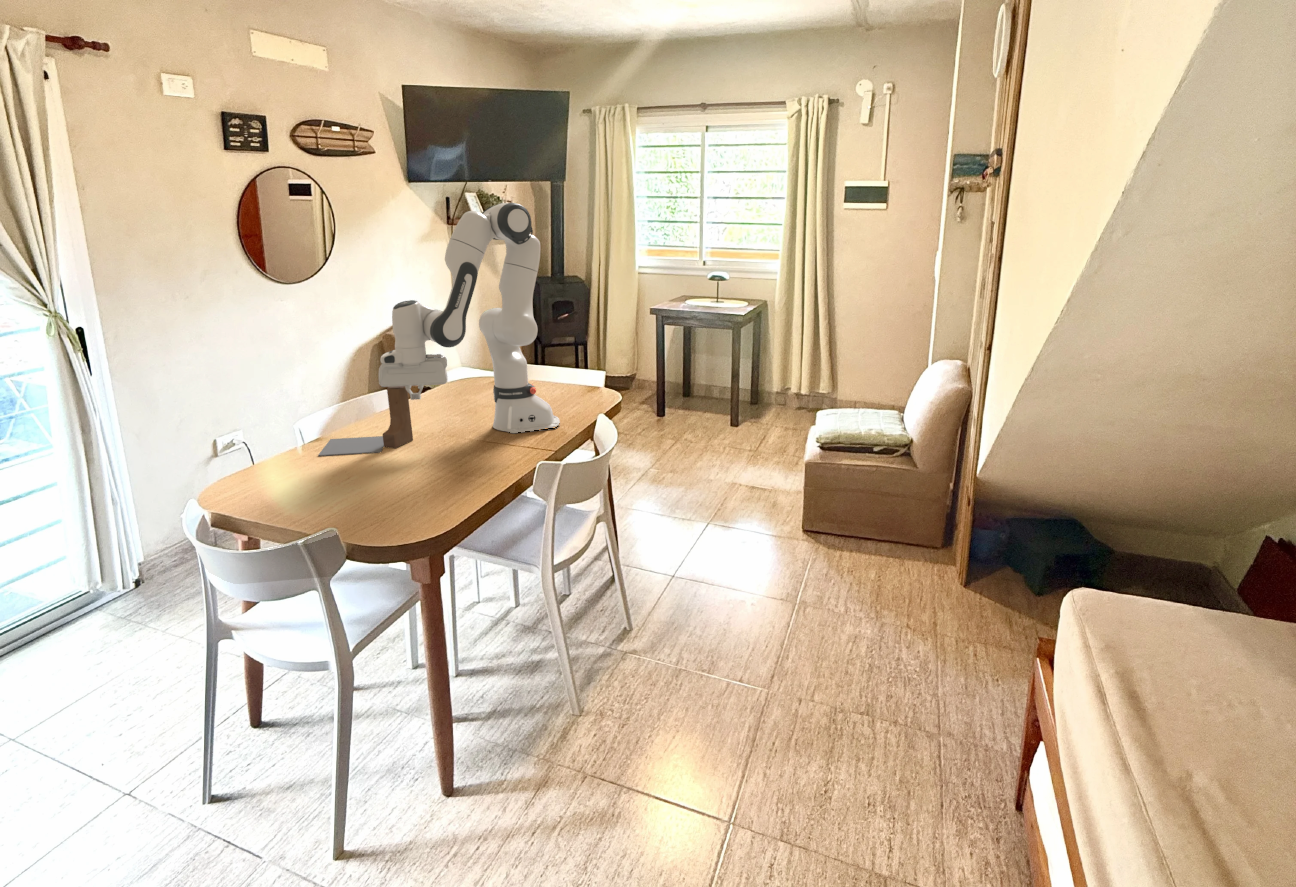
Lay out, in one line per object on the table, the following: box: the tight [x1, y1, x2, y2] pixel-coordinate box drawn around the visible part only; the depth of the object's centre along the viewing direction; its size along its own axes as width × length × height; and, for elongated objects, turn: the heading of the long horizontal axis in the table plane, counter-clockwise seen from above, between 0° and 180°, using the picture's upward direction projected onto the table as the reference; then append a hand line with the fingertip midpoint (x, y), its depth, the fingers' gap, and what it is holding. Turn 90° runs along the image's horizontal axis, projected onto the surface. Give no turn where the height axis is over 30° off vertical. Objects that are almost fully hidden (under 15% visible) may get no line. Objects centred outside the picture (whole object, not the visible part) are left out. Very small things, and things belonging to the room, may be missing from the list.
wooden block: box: [382, 386, 414, 449], centre depth 231 cm, size 9×4×18 cm, turn 160°
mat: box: [317, 435, 385, 457], centre depth 231 cm, size 18×16×1 cm
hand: (415, 399), depth 230 cm, fingers closed
